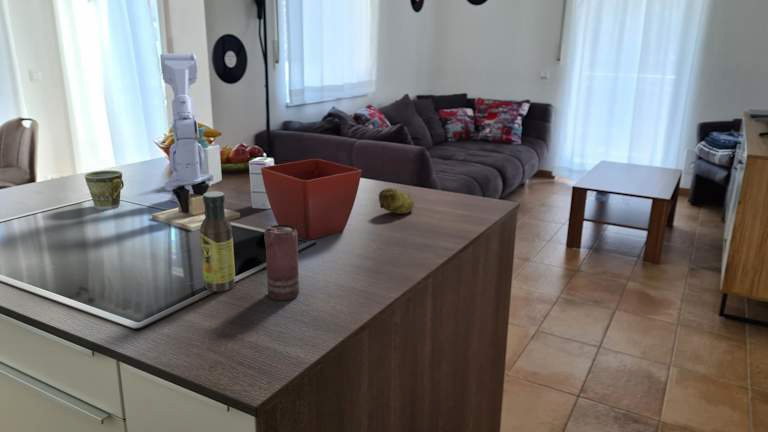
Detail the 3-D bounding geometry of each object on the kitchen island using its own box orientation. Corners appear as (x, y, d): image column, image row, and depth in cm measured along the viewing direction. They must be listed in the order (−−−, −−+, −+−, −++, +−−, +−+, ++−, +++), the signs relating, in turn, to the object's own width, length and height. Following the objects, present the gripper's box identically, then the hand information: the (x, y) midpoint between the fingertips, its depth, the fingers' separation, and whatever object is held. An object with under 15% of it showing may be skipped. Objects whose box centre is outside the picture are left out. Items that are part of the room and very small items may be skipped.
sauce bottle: (202, 283, 121) (194, 190, 116) (233, 279, 124) (227, 187, 118) (206, 295, 116) (198, 198, 110) (238, 290, 118) (232, 195, 112)
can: (268, 289, 119) (265, 223, 115) (299, 288, 120) (297, 223, 116) (265, 302, 113) (261, 233, 109) (298, 301, 114) (296, 233, 110)
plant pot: (363, 230, 156) (363, 169, 151) (306, 247, 143) (304, 180, 138) (317, 215, 169) (316, 158, 164) (261, 229, 156) (258, 167, 151)
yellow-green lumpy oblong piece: (423, 214, 172) (424, 187, 169) (385, 220, 165) (386, 192, 163) (408, 207, 178) (409, 181, 176) (371, 212, 172) (371, 186, 170)
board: (152, 218, 163) (151, 214, 163) (199, 206, 176) (199, 202, 176) (192, 231, 153) (192, 226, 153) (240, 217, 166) (239, 212, 166)
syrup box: (269, 209, 174) (267, 161, 169) (251, 208, 175) (248, 160, 171) (276, 204, 179) (274, 157, 175) (258, 203, 180) (256, 156, 176)
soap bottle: (222, 180, 207) (218, 126, 202) (209, 186, 199) (205, 130, 194) (200, 178, 209) (196, 125, 204) (187, 184, 201) (182, 129, 195)
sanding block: (178, 211, 166) (177, 195, 164) (190, 208, 169) (189, 192, 167) (194, 216, 162) (192, 199, 160) (206, 213, 165) (204, 196, 163)
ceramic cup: (81, 208, 172) (76, 175, 169) (110, 200, 180) (106, 168, 177) (111, 215, 166) (107, 180, 163) (140, 206, 174) (136, 173, 172)
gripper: (174, 169, 153) (178, 218, 157) (218, 160, 164) (222, 207, 168) (158, 165, 157) (163, 214, 161) (202, 157, 168) (206, 202, 172)
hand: (192, 210), depth 165 cm, fingers closed on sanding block, 4 cm apart
